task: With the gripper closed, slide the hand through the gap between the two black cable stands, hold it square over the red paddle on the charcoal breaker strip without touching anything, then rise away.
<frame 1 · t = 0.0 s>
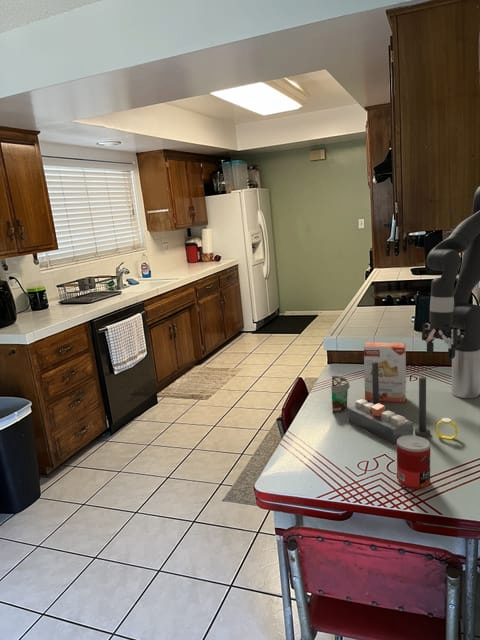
hand: (440, 355, 164), 17 cm above the table, tool pointing down, fingers open, 8 cm apart
canned food: (413, 482, 122), on the table
breaker strip: (379, 429, 152), on the table
food container: (341, 408, 171), on the table
breaker paddle: (378, 409, 150), point 7 cm above the table, hinge at 10.0°
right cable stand: (422, 434, 147), on the table
cracker box: (385, 399, 175), on the table
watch: (446, 438, 143), on the table
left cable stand: (376, 413, 164), on the table
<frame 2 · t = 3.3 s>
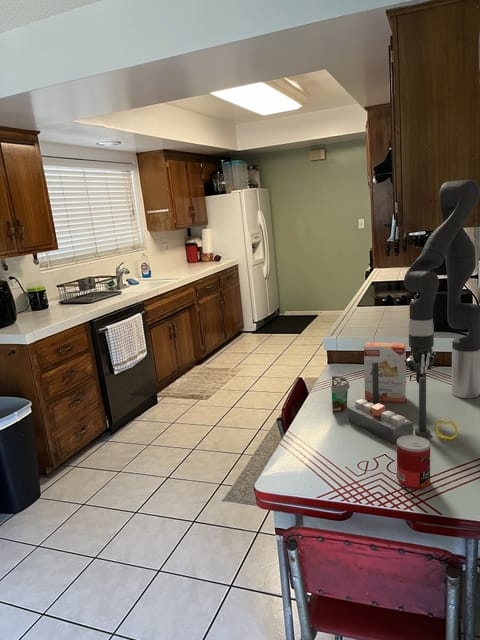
hand: (421, 383, 157), 11 cm above the table, tool pointing down, fingers closed
nothing on the table moved.
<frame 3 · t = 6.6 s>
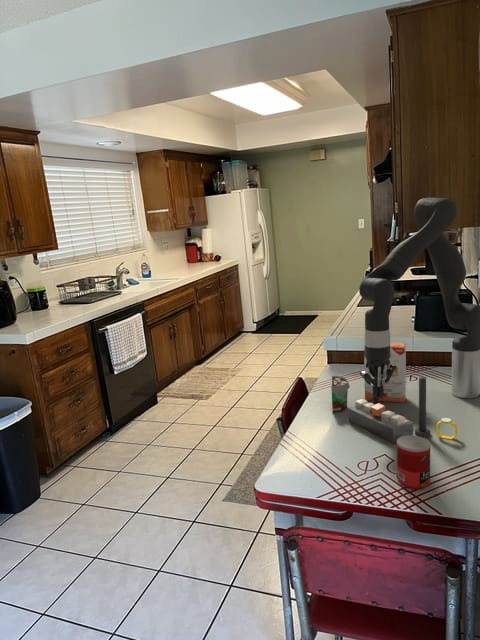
hand: (378, 396, 149), 11 cm above the table, tool pointing down, fingers closed
nothing on the table moved.
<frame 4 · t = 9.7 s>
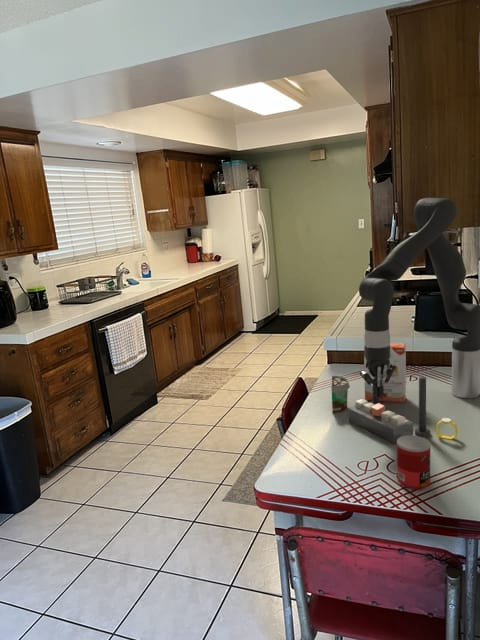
hand: (378, 396, 150), 11 cm above the table, tool pointing down, fingers closed
nothing on the table moved.
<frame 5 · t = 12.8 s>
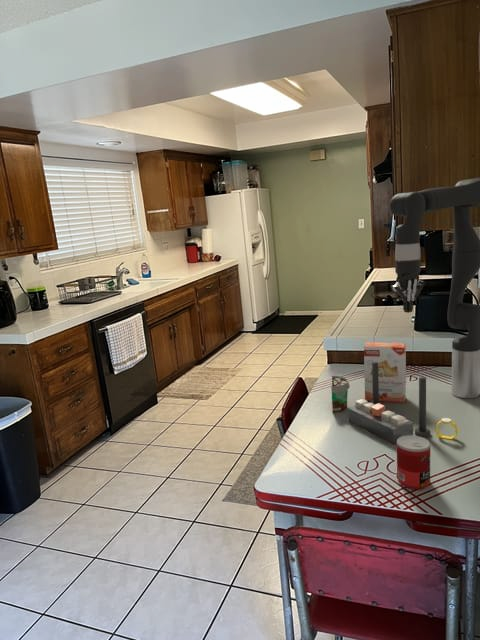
hand: (408, 312, 154), 35 cm above the table, tool pointing down, fingers closed
nothing on the table moved.
at the end: breaker paddle at +10° (first picture: +10°); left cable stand moved 0.0 cm from its start; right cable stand moved 0.0 cm from its start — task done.
